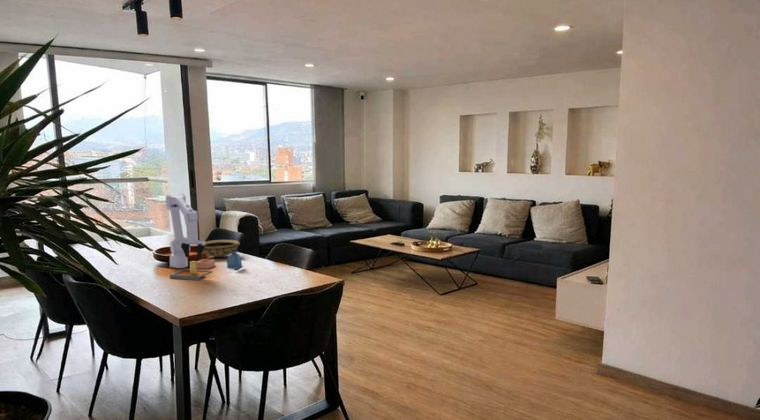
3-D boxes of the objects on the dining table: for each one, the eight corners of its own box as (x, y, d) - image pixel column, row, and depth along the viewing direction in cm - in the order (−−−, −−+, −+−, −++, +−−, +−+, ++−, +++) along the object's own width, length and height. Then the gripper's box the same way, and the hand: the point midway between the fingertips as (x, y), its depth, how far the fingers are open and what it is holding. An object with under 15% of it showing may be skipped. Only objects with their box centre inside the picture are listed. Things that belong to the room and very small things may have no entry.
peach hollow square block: (195, 270, 287) (195, 261, 287) (203, 267, 295) (203, 259, 294) (207, 271, 285) (207, 262, 285) (215, 268, 293) (214, 259, 292)
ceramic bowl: (230, 251, 339) (229, 237, 338) (250, 256, 323) (249, 241, 322) (188, 258, 317) (187, 243, 316) (207, 264, 301) (206, 248, 300)
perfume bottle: (241, 267, 294) (241, 247, 292) (237, 270, 288) (236, 250, 286) (231, 267, 294) (230, 247, 293) (227, 270, 288) (226, 249, 287)
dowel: (189, 275, 273) (188, 262, 272) (192, 273, 276) (192, 260, 275) (194, 275, 272) (193, 262, 271) (197, 274, 275) (197, 261, 274)
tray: (170, 278, 270) (169, 274, 270) (184, 272, 283) (184, 268, 282) (199, 280, 266) (198, 276, 265) (212, 274, 278) (212, 270, 278)
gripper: (176, 233, 270) (177, 258, 272) (199, 234, 267) (200, 259, 268) (184, 231, 277) (185, 255, 279) (207, 232, 273) (208, 256, 275)
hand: (193, 257), depth 274 cm, fingers open, 7 cm apart
